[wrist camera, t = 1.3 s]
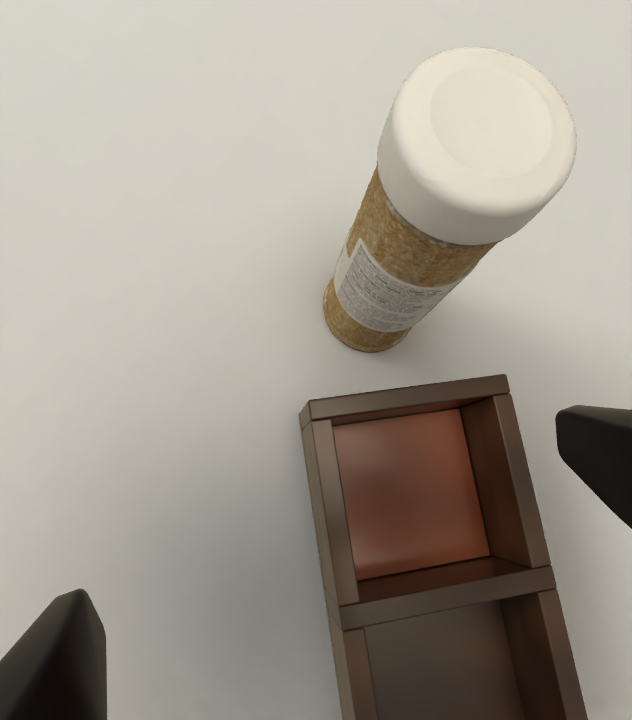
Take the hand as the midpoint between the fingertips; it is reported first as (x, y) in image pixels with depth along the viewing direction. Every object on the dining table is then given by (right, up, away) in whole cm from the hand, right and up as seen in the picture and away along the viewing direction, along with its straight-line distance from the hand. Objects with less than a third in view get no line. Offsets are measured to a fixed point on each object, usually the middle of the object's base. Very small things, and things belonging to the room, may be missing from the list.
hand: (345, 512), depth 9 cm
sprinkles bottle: (+2, +5, +16) cm, 17 cm away
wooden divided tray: (+4, -7, +13) cm, 15 cm away
